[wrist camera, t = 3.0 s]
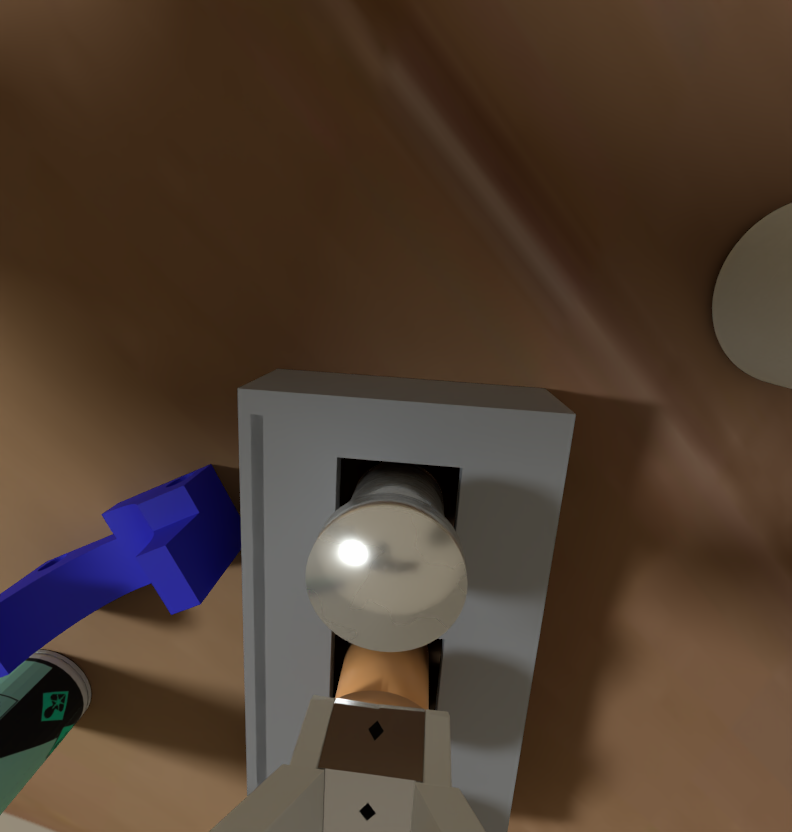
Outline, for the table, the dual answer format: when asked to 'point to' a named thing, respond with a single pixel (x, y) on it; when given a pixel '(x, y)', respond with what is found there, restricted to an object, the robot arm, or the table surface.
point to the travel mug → (758, 300)
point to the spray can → (37, 715)
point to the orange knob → (385, 677)
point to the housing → (474, 523)
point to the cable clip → (127, 563)
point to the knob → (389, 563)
